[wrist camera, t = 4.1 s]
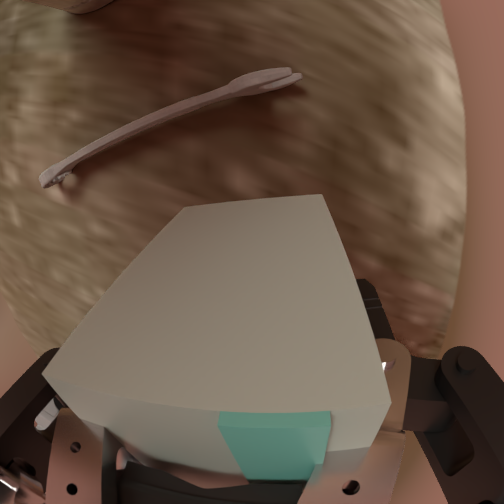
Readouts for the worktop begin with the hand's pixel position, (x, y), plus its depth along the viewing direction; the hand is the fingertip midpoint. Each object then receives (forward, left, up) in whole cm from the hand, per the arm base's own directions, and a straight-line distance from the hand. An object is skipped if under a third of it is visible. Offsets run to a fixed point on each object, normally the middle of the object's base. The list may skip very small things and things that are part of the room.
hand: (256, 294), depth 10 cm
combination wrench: (-7, -7, -9) cm, 14 cm away
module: (0, 0, -1) cm, 1 cm away
